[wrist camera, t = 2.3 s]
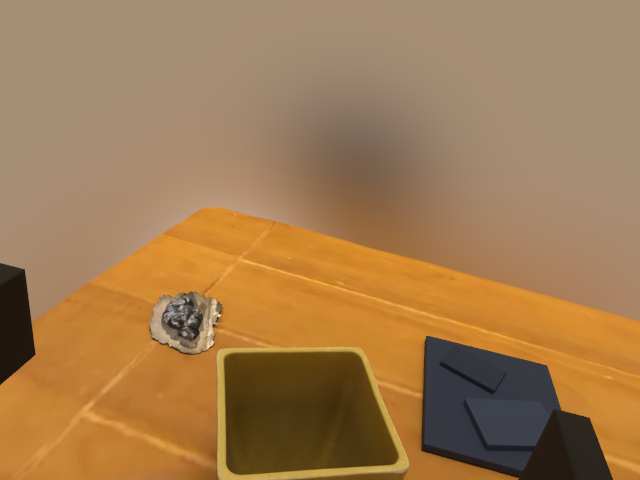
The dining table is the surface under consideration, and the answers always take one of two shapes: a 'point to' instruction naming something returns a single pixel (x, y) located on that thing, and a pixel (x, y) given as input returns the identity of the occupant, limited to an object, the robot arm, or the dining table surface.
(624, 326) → the dining table surface
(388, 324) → the dining table surface
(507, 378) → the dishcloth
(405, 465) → the flower pot
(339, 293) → the dining table surface
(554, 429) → the robot arm
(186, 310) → the grey mineral rock
